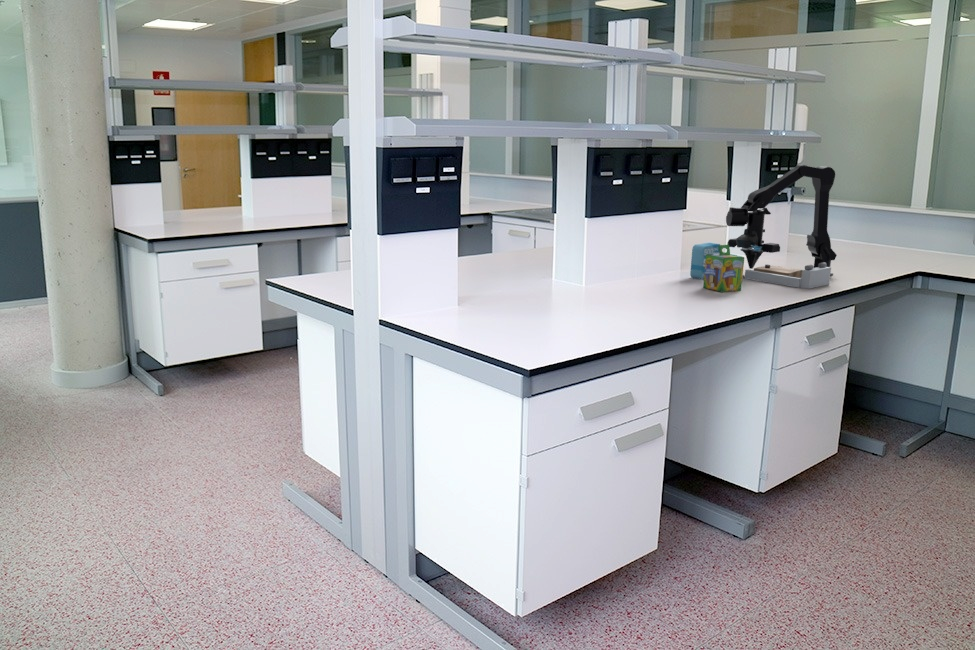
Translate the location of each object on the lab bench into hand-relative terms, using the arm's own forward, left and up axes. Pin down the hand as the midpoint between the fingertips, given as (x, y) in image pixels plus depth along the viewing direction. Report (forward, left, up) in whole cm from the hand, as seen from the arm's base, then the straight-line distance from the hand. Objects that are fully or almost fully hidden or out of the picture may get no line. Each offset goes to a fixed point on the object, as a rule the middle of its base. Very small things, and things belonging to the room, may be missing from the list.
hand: (751, 268), depth 294 cm
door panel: (0, +11, -3) cm, 11 cm away
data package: (+20, -6, -2) cm, 21 cm away
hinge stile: (+1, +26, -2) cm, 26 cm away
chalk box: (+34, +11, -2) cm, 36 cm away
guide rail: (+8, +14, -2) cm, 16 cm away
